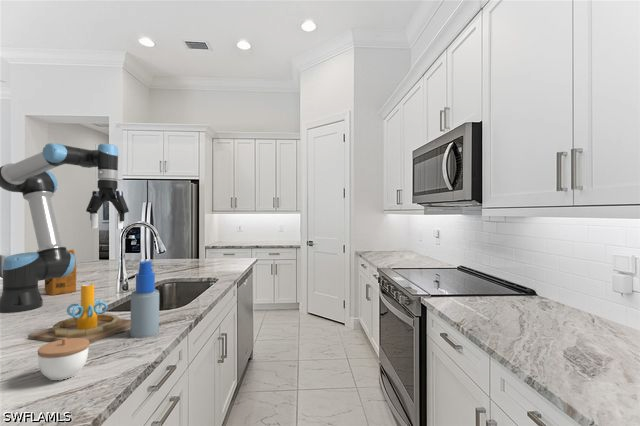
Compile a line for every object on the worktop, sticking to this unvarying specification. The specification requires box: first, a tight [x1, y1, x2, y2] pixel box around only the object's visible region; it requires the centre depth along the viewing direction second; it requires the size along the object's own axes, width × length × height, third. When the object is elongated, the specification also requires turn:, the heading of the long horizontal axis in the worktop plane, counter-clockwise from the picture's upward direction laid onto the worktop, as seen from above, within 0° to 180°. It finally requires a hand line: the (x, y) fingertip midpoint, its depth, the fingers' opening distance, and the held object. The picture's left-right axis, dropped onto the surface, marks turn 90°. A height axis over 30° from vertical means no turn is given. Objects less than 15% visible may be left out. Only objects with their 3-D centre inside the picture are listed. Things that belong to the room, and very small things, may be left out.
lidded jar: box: [37, 338, 90, 381], centre depth 90 cm, size 11×11×9 cm
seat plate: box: [27, 318, 131, 345], centre depth 124 cm, size 23×23×1 cm
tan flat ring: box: [52, 313, 120, 337], centre depth 124 cm, size 19×19×2 cm
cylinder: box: [66, 283, 108, 329], centre depth 124 cm, size 12×10×15 cm
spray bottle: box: [129, 260, 160, 339], centre depth 122 cm, size 9×9×25 cm
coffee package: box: [44, 248, 77, 296], centre depth 180 cm, size 10×12×22 cm
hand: (107, 228), depth 153 cm, fingers open, 13 cm apart
